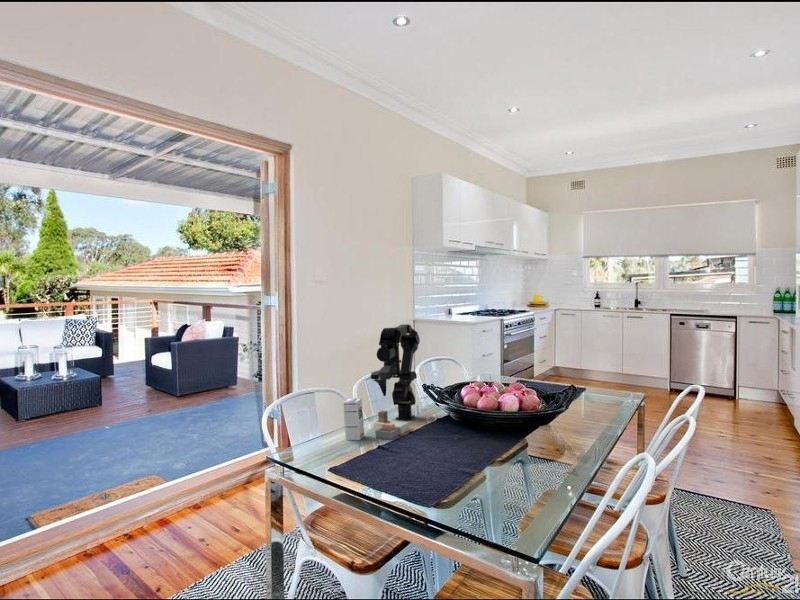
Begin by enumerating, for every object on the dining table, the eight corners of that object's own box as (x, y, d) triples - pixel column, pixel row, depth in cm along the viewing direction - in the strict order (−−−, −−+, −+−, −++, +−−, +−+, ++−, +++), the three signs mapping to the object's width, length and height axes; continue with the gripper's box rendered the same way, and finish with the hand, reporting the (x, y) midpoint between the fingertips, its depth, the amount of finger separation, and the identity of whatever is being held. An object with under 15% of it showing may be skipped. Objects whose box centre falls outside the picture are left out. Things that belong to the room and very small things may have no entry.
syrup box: (360, 440, 177) (358, 401, 177) (345, 440, 178) (342, 401, 178) (364, 435, 183) (362, 398, 183) (349, 435, 184) (347, 398, 184)
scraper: (381, 424, 200) (380, 409, 200) (393, 425, 197) (392, 410, 197) (373, 427, 195) (372, 413, 195) (385, 428, 192) (385, 414, 192)
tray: (384, 433, 185) (384, 426, 185) (400, 434, 181) (400, 427, 181) (375, 438, 179) (375, 430, 179) (392, 440, 175) (391, 432, 175)
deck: (393, 428, 191) (393, 421, 191) (409, 429, 188) (408, 422, 188) (384, 433, 185) (384, 425, 185) (400, 434, 182) (400, 426, 182)
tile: (385, 423, 183) (382, 424, 180) (394, 423, 181) (391, 425, 178) (386, 433, 183) (382, 435, 180) (395, 434, 181) (392, 436, 178)
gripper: (362, 360, 192) (364, 399, 192) (403, 361, 184) (405, 401, 183) (376, 357, 202) (378, 394, 202) (416, 357, 193) (418, 396, 193)
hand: (394, 396), depth 195 cm, fingers open, 9 cm apart
